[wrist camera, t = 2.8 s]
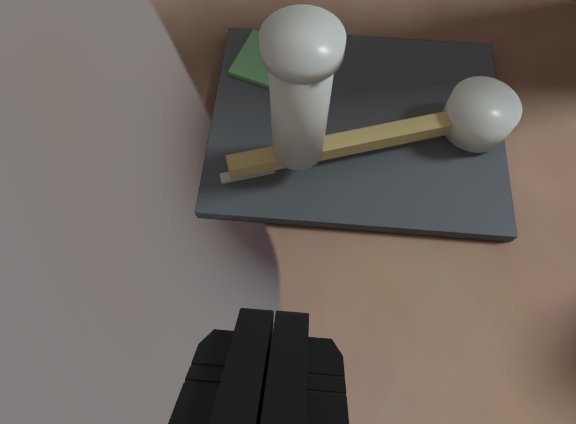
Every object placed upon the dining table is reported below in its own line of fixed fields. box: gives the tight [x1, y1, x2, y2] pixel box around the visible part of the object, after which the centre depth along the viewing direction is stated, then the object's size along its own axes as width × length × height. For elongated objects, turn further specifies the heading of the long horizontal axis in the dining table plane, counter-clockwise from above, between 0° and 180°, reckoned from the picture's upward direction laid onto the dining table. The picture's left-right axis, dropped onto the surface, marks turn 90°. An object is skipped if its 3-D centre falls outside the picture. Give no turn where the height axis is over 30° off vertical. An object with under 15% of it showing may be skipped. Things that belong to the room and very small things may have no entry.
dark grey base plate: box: [195, 28, 517, 242], centre depth 28 cm, size 14×18×1 cm
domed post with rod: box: [226, 4, 522, 179], centre depth 22 cm, size 17×4×10 cm, turn 103°
